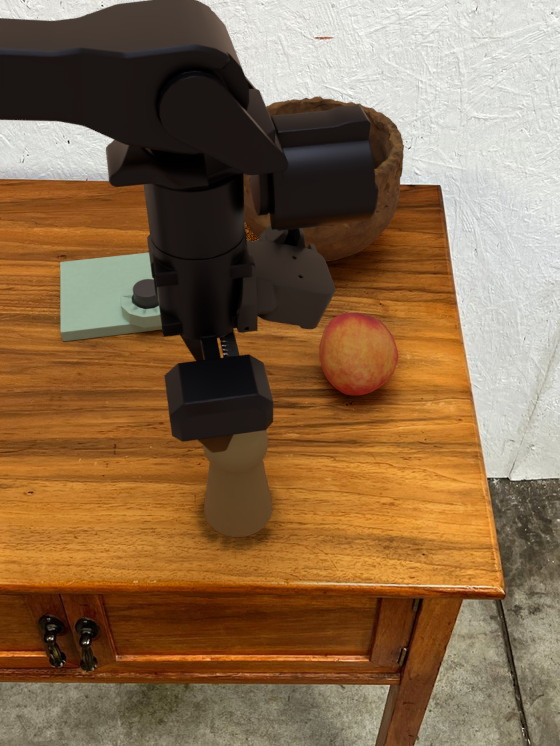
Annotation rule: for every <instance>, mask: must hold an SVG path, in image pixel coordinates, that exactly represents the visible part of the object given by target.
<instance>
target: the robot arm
mask: <svg viewBox="0 0 560 746" xmlns="http://www.w3.org/2000/svg"><path fill="white" fill-rule="evenodd" d="M0 121H22V122H23V121H29V122H30V121H31V122H57V123H58V122H59V123H65V124H70V125H76V126H81V127H84V128H87V129H89V130H91V131H93V132H96V133H98V134H101V135H102V136H104V137H107V138H109V139H112V141H111V142H110V143H109V144H107V145H106V147H105V155H106V157H105V158H106V167H107V175H108V183H109V185H111V186H112V187H114V188H122V187H123V188H124V187H133V186H134V187H135V186H143V191H144V198H145V206H146V212H147V213H146V214H147V224H148V230H149V234H148V236H147V237H146V240H147V248H148V249H147V250H148V253H149V257H150V265H151V273H152V278H153V279H154V287H155V293H156V295H157V297H158V301H159V309H160V317H161V324H162V330H161V331H162V337H163V338H166V337H176V336H180V338H181V339H182V341H183V342H184V344H185V346H186V348H187V350H188V351H189V352H190V354H191V356H192V358H193V359H194V360H192V361H183V362H177V363H176V364H175V365H174V366H173V367H172V368H171V369H170V370H168V371H167V372H166V373H165V374H164V375H163V376H164V384H165V392H166V400H167V408H168V416H169V417H168V418H169V423H170V430H171V437H172V438H175V439H176V440H178V441H180V442H181V443H184V442H191V441H198V442H199V443H200V444H201V445H202V447H203V446H205V447H206V448H207V449H208V450H209V451H210V452H211V453H216V452H223V451H226V450H227V448H228V446H229V444H230V442H231V439H232V437H233V435H235V434H242V433H249V432H257V431H264V430H266V431H267V429H269V428H270V427H271V425H272V424H273V423H274V399H273V394H272V390H271V386H270V383H269V379H268V375H267V371H266V367H265V362H263V361H261V360H260V359H258V358H256V357H255V356H253V355H251V354H249V353H248V354H240V352H239V347H238V342H237V338H236V334H235V333H236V332H235V329H236V330H237V333H238V334H239V333H240V334H243V333H244V334H245V333H252V332H258V331H259V330H258V329H259V328H258V327H259V325H258V324H259V323H258V321H259V320H258V318H259V319H262V320H264V321H267V322H273V323H279V324H286V325H291V326H299V327H300V329H303V330H315V329H317V328H318V325H319V324H320V322H321V320H322V318H323V316H324V314H325V312H326V310H327V308H328V306H329V304H330V303H331V301H332V299H333V297H334V295H335V294H336V285H335V282H334V280H333V277H332V275H331V272H330V269H329V267H328V264H327V262H326V261H325V259H324V258H323V256H322V255H320V254H319V253H318V252H317V250H316V247H315V245H314V244H309V246H308V248H306V246H305V236H304V233H303V230H302V228H309V227H317V226H326V225H335V224H344V223H353V222H362V221H368V220H371V218H372V217H373V215H374V213H375V210H376V205H377V200H378V186H377V184H376V182H375V169H374V160H373V153H372V148H371V144H370V140H369V137H370V128H371V123H370V121H369V119H368V117H367V116H366V114H365V112H364V110H363V109H362V107H361V106H360V105H349V106H341V107H336V108H333V109H330V110H327V111H319V112H307V113H296V114H285V115H274V116H271V118H270V115H269V113H268V110H267V108H266V103H265V100H264V98H263V96H262V93H261V90H260V89H258V88H256V86H255V85H254V84H253V83H252V82H251V81H250V79H249V78H248V77H247V76H246V74H245V72H244V69H243V67H242V64H241V62H240V59H239V56H238V54H237V51H236V49H235V47H234V44H233V41H232V38H231V36H230V33H229V31H228V29H227V26H226V24H225V23H224V22H223V20H222V19H221V18H220V17H219V15H218V14H216V13H215V11H213V10H212V8H211V7H210V6H209V5H208V4H205V3H203V2H202V1H200V0H139V1H131V2H122V3H115V4H113V5H110V6H107V7H104V8H101V9H99V10H96V11H93V12H90V13H87V14H85V15H82V16H79V17H78V16H77V17H72V18H64V19H55V20H43V19H28V18H27V19H25V18H9V17H7V18H5V17H0ZM244 174H246V175H250V185H251V193H252V199H253V204H254V208H255V211H256V213H257V215H258V216H260V215H268V213H270V222H271V225H270V226H269V227H268V228H267V229H266V230H265V231H264V232H263V233H262V234H261V235H260V237H259V239H258V238H257V239H255V240H248V233H247V231H246V223H245V216H244ZM218 339H219V341H220V342H219V341H218ZM219 343H220V344H219ZM219 346H220V347H221V348H220V347H219ZM220 349H221V351H220ZM221 353H222V356H221Z"/></svg>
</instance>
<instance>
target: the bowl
mask: <svg viewBox="0 0 560 746" xmlns="http://www.w3.org/2000/svg"><path fill="white" fill-rule="evenodd" d="M349 105H360V106H361V107H362V109H363V110H364V112H365V114H366V116H367V117H368V119H369V121H370V123H371V128H370V137H369V140H370V144H371V148H372V153H373V160H374V169H375V182H376V184H377V186H378V200H377V205H376V210H375V213H374V215H373V217H372V218H371V220H368V221H362V222H353V223H344V224H335V225H326V226H317V227H309V228H302V230H303V233H304V236H305V246H306V248H308V246H309V244H314V245H315V247H316V250H317V252H318V253H319V254H320V255H322V256H323V258H324V259H325V261H326V263H327V262H332V261H338V260H342V259H344V258H346V257H350V256H353V255H356V254H357V253H360V252H362V251H363V250H365V249H366V248H368V247H369V246H370V245H371V244H373V243H374V241H376V239H378V238H379V237H380V235H381V234H382V233H383V232H384V230H385V229H386V228H387V227H388V226H389V225H390V223H391V221H392V220H393V218H394V216H395V213H396V211H397V208H398V205H399V200H400V197H401V178H402V177H403V176H402V175H403V169H404V168H403V167H404V149H405V144H404V140H403V136H402V132H400V130H399V128H398V126H397V124H396V123H395V122H394V121H393V120H391V118H390V117H389V116H387V115H385V114H384V113H383V112H381V111H377V110H376V109H375V108H373V107H367V106H365V105H363V104H362V103H359V102H358V103H355V102H353V101H349V102H345V101H340V100H335V99H334V98H333V99H332V98H323V97H322V96H320V95H319V96H314V97H311V98H308V97H305V98H304V97H303V98H302V99H298V98H297V99H295V98H293V99H291V100H290V99H286V100H284V101H281V100H280V101H277V102H276V101H274V102H272V103H270V104H269V105H267V106H266V108H267V110H268V113H269V115H270V118H271V116H274V115H285V114H296V113H307V112H319V111H327V110H330V109H333V108H336V107H341V106H349ZM244 216H245V225H246V226H247V228H248V229H249V231H250V232H251V233H252V234H253V235H254V236H255V238H256V239H257V240H258V239H259V237H260V235H261V234H262V233H263V232H264V231H265V230H266V229H267V228H268V227H269V226H270V225H271V222H270V213H268V215H260V216H258V215H257V213H256V211H255V208H254V204H253V199H252V193H251V185H250V175H246V174H244Z"/></svg>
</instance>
